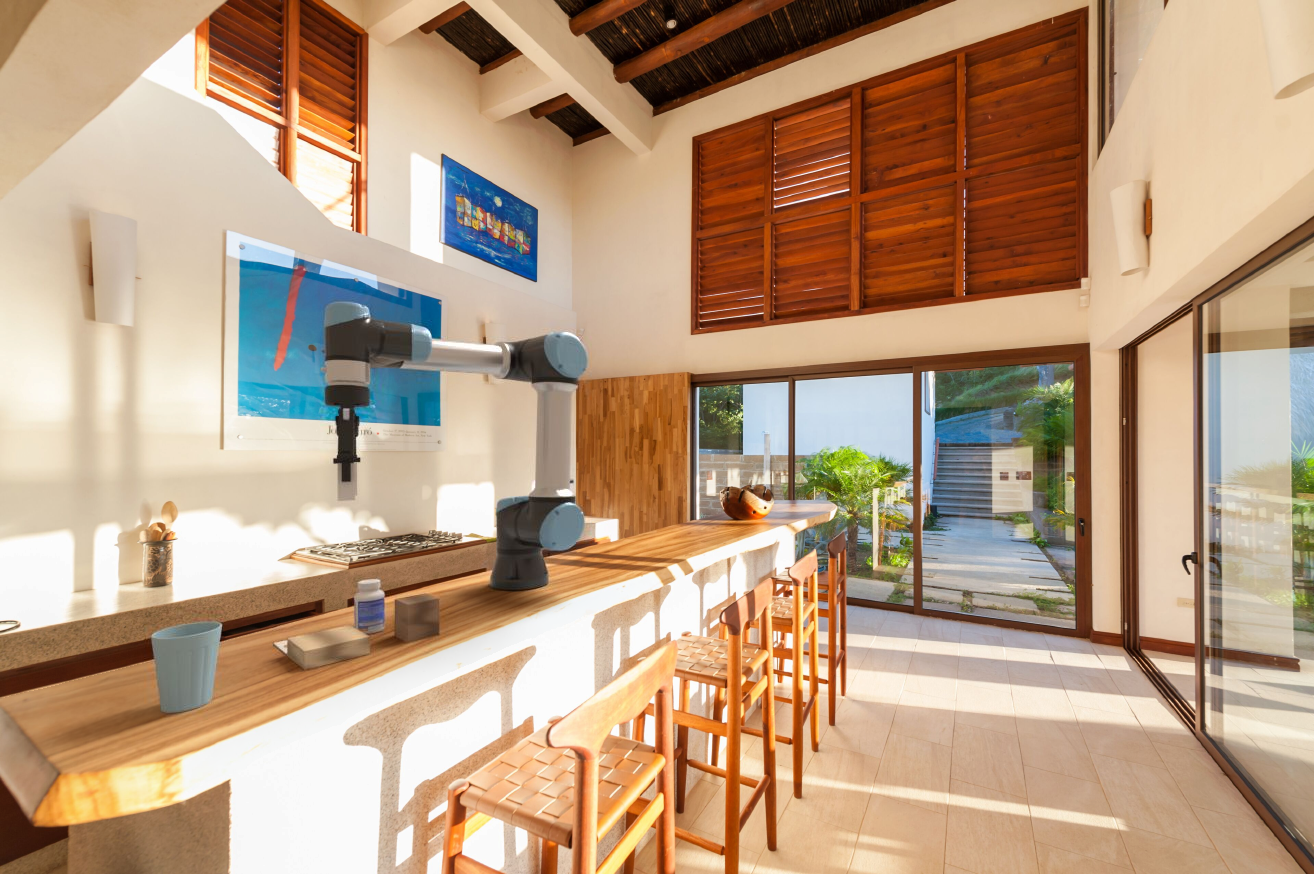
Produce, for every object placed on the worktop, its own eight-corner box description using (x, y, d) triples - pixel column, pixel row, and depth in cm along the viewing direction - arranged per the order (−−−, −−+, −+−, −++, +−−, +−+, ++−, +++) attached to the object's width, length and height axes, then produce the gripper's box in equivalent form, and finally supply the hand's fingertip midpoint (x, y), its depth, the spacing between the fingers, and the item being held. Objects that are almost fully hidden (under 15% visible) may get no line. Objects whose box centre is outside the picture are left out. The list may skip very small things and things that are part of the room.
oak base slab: (349, 641, 107) (349, 624, 107) (369, 653, 100) (369, 636, 100) (287, 655, 99) (287, 638, 99) (304, 670, 92) (304, 651, 92)
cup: (134, 714, 77) (135, 636, 77) (190, 691, 85) (191, 620, 85) (181, 719, 76) (183, 639, 76) (234, 694, 83) (235, 622, 84)
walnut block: (425, 628, 114) (425, 593, 114) (439, 635, 110) (439, 598, 110) (394, 635, 110) (394, 599, 110) (407, 642, 105) (407, 604, 106)
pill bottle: (390, 628, 114) (390, 579, 114) (365, 636, 109) (365, 585, 109) (374, 625, 117) (374, 576, 117) (348, 632, 112) (348, 582, 112)
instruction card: (333, 631, 113) (333, 629, 113) (347, 639, 107) (347, 638, 107) (273, 644, 105) (273, 642, 105) (285, 654, 100) (285, 652, 100)
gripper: (329, 391, 118) (329, 494, 118) (318, 376, 96) (319, 504, 95) (370, 392, 121) (370, 492, 121) (369, 378, 99) (369, 501, 99)
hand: (348, 498), depth 108 cm, fingers open, 13 cm apart
